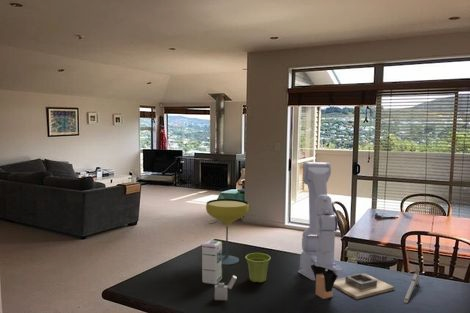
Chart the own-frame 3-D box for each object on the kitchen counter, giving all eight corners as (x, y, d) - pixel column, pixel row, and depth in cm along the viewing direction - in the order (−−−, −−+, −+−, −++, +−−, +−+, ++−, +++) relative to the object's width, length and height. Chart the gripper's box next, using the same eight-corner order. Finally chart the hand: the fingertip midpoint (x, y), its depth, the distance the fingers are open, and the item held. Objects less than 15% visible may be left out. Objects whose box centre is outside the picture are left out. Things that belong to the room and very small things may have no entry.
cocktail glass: (228, 250, 170) (228, 197, 168) (256, 261, 157) (257, 203, 155) (196, 259, 158) (197, 202, 156) (224, 271, 145) (225, 209, 143)
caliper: (415, 283, 137) (416, 266, 137) (418, 283, 137) (419, 267, 136) (403, 303, 121) (404, 284, 121) (407, 304, 120) (408, 285, 120)
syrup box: (216, 284, 132) (217, 245, 131) (201, 282, 134) (202, 243, 133) (222, 278, 138) (222, 241, 137) (207, 276, 140) (208, 239, 139)
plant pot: (256, 286, 131) (257, 263, 131) (239, 278, 138) (240, 256, 138) (275, 280, 137) (275, 257, 136) (258, 272, 144) (258, 251, 144)
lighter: (214, 299, 121) (214, 276, 120) (215, 297, 122) (215, 274, 122) (236, 300, 120) (236, 276, 120) (236, 298, 122) (236, 274, 122)
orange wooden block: (315, 294, 126) (316, 274, 126) (324, 291, 128) (325, 272, 127) (323, 298, 123) (323, 278, 122) (332, 296, 124) (333, 276, 124)
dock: (328, 283, 135) (328, 275, 135) (364, 275, 143) (364, 268, 143) (356, 299, 123) (357, 290, 122) (394, 289, 131) (394, 281, 130)
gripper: (302, 244, 129) (301, 282, 130) (331, 257, 116) (329, 299, 117) (318, 242, 132) (317, 279, 133) (347, 254, 119) (346, 295, 120)
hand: (324, 288), depth 125 cm, fingers closed on orange wooden block, 4 cm apart
